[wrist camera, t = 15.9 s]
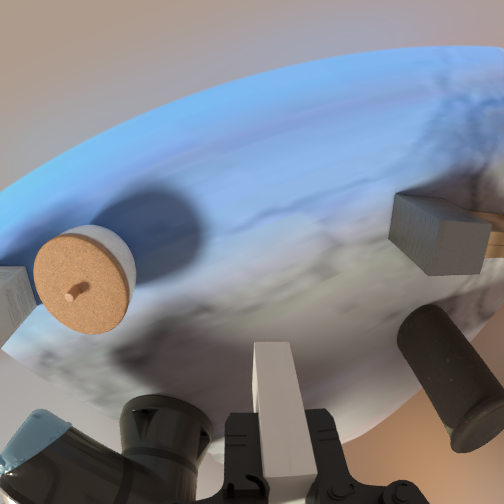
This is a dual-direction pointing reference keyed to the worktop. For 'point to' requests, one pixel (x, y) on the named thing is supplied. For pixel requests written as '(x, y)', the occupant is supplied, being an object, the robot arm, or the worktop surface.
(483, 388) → the container
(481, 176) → the worktop surface
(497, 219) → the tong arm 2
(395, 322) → the worktop surface
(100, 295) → the lidded jar
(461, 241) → the grey angled block
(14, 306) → the skincare box
